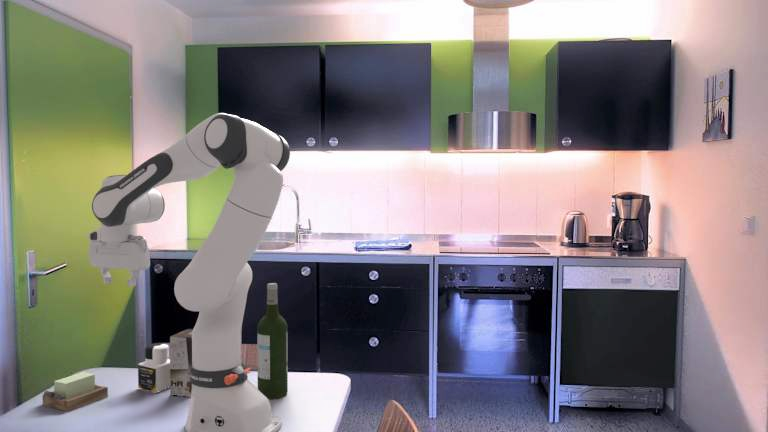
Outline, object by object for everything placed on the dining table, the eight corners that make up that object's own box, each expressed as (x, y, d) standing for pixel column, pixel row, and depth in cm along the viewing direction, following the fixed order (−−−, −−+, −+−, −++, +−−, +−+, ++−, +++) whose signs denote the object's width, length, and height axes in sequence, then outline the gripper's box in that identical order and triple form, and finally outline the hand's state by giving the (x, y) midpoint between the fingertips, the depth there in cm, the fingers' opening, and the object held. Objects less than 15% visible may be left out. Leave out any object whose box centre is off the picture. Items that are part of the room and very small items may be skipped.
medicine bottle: (137, 389, 151) (137, 346, 150) (159, 381, 157) (158, 340, 156) (155, 393, 147) (155, 349, 147) (176, 385, 154) (176, 343, 153)
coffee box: (191, 397, 144) (190, 337, 144) (169, 395, 146) (168, 336, 145) (208, 385, 153) (208, 329, 153) (188, 384, 155) (187, 327, 154)
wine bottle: (293, 391, 149) (293, 282, 148) (276, 401, 142) (275, 287, 141) (269, 387, 152) (269, 280, 151) (251, 396, 145) (250, 284, 144)
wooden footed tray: (107, 396, 145) (107, 382, 145) (66, 412, 134) (65, 397, 134) (82, 390, 149) (82, 377, 149) (40, 405, 139) (40, 390, 139)
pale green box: (94, 393, 145) (94, 374, 144) (66, 403, 137) (65, 383, 137) (83, 390, 147) (83, 371, 146) (54, 400, 139) (54, 381, 139)
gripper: (155, 235, 147) (156, 285, 148) (104, 232, 156) (105, 280, 157) (135, 236, 142) (136, 289, 142) (83, 234, 151) (84, 283, 151)
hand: (119, 284), depth 150 cm, fingers open, 8 cm apart
